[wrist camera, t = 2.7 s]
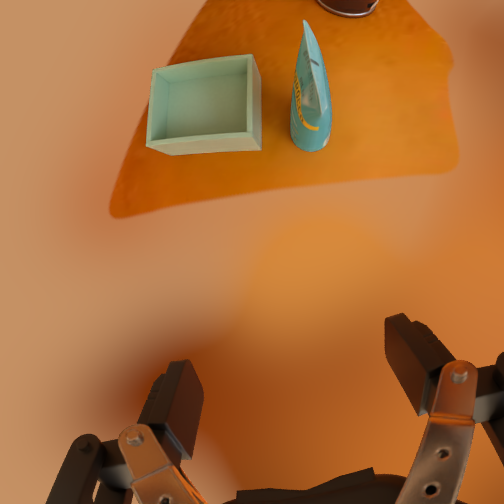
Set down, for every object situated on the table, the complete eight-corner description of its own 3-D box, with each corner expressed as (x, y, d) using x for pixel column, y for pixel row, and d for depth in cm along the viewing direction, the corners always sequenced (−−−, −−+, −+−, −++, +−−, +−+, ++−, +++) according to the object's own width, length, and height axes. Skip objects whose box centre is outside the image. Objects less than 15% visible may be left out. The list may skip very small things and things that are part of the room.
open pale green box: (175, 88, 35) (152, 69, 29) (261, 78, 33) (252, 53, 27) (171, 155, 37) (145, 146, 30) (261, 150, 35) (252, 136, 28)
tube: (285, 110, 34) (266, 24, 15) (322, 104, 33) (336, 16, 14) (296, 165, 34) (290, 117, 16) (335, 159, 34) (369, 108, 15)
